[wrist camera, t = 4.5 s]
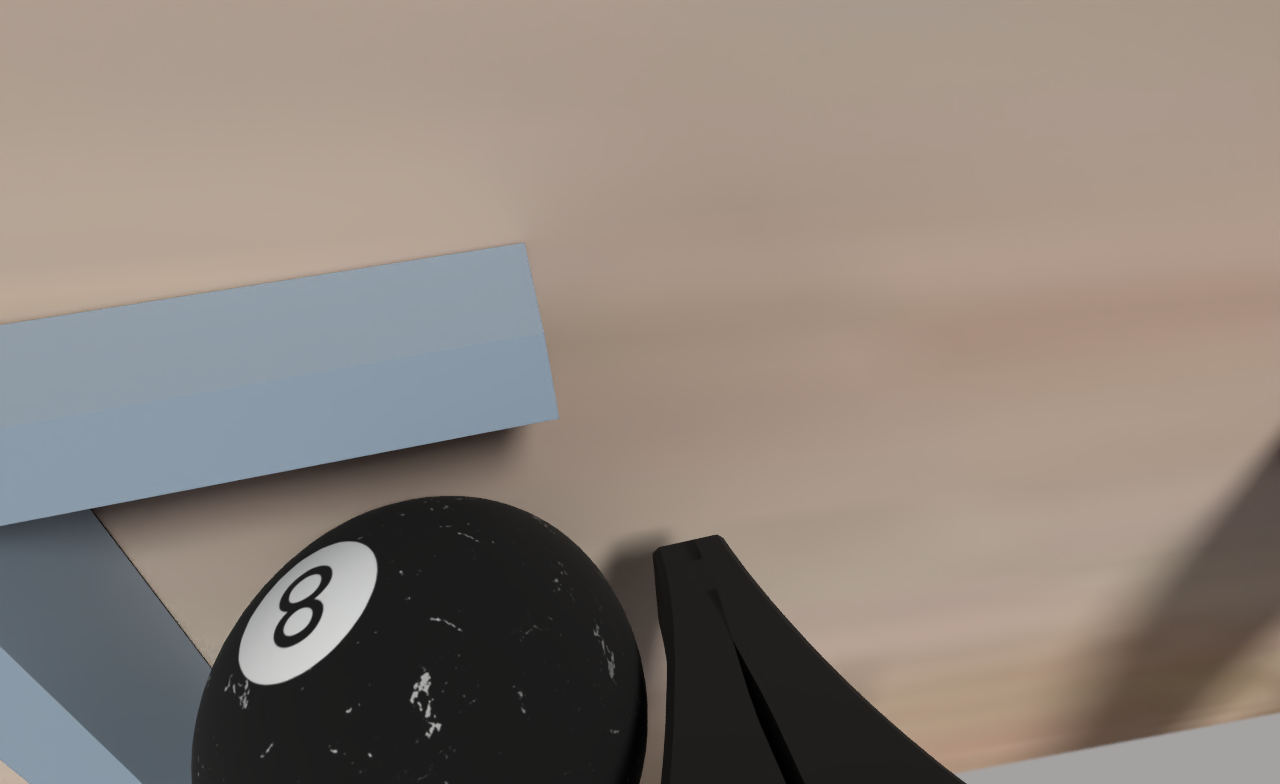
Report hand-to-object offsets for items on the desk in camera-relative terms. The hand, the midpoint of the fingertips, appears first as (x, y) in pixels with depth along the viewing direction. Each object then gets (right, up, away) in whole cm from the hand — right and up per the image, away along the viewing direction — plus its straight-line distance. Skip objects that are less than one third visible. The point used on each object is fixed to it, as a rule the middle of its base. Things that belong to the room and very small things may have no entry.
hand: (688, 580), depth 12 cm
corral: (-6, 0, +1) cm, 6 cm away
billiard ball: (-4, 0, +1) cm, 5 cm away
